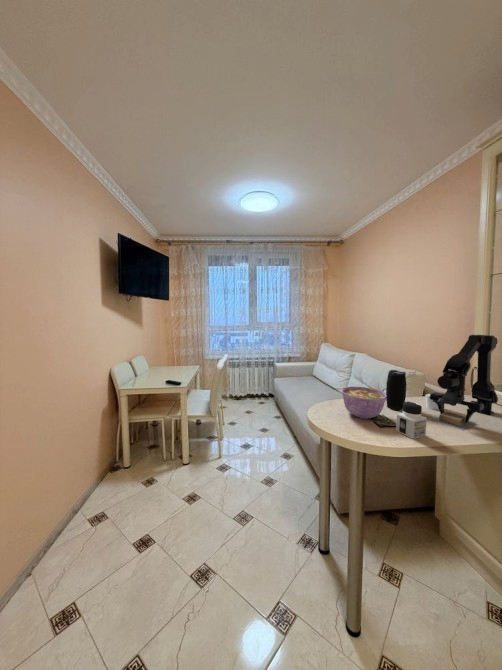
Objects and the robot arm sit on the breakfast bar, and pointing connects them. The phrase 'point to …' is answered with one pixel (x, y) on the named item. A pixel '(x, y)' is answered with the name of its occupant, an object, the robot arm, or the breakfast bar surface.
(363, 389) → the bowl of food
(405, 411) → the container
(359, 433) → the breakfast bar surface
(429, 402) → the white cup
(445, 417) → the brown rectangular block
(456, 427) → the rubber mat
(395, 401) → the portable speaker
